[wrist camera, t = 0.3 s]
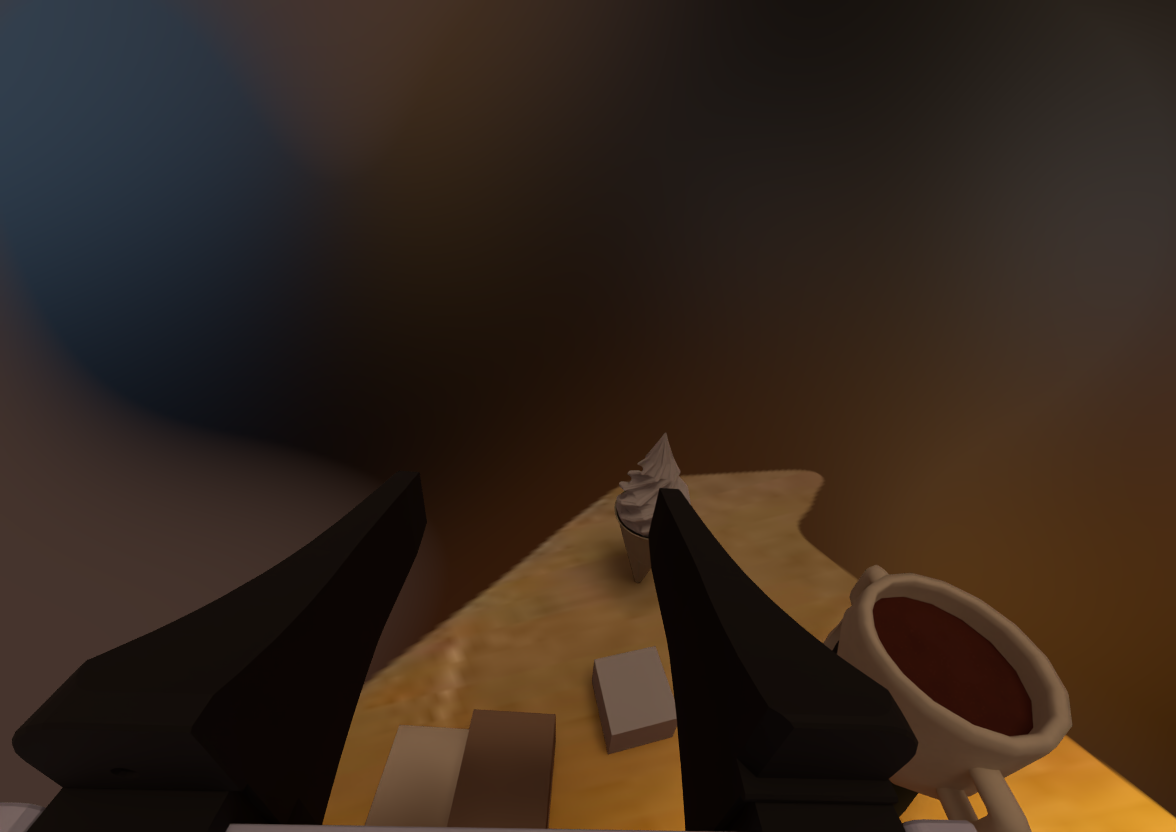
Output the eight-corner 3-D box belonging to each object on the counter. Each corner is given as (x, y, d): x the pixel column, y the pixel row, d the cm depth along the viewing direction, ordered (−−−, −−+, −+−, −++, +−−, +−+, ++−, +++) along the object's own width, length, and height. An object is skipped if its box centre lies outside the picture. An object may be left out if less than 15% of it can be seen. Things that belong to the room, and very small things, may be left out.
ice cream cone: (604, 606, 32) (623, 454, 23) (607, 551, 36) (623, 404, 27) (671, 613, 31) (714, 462, 23) (666, 556, 36) (701, 411, 27)
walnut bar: (539, 925, 18) (537, 917, 17) (439, 919, 18) (427, 909, 17) (555, 734, 24) (555, 714, 22) (479, 730, 24) (473, 709, 22)
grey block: (671, 738, 25) (680, 717, 23) (607, 755, 24) (612, 735, 23) (649, 668, 28) (655, 646, 27) (591, 681, 28) (594, 659, 26)
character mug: (753, 655, 29) (820, 532, 22) (858, 668, 29) (963, 546, 21) (804, 888, 20) (948, 812, 13) (958, 911, 20) (1197, 846, 12)
